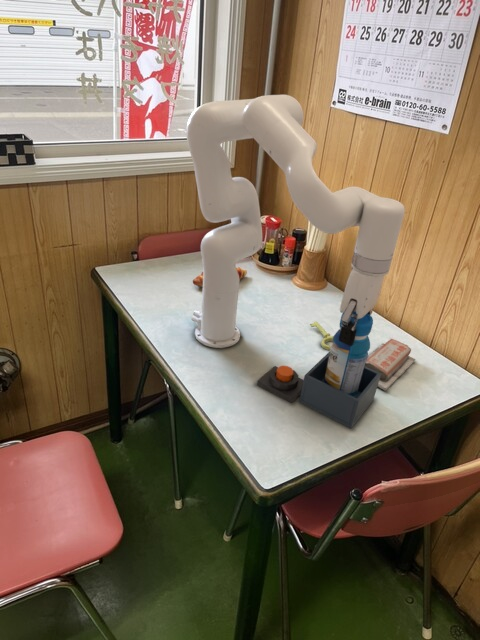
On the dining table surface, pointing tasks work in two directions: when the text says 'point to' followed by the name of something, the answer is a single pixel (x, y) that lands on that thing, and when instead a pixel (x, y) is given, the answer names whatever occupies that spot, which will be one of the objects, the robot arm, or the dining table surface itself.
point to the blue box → (338, 394)
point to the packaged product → (389, 361)
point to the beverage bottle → (349, 358)
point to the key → (326, 335)
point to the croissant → (199, 279)
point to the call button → (284, 373)
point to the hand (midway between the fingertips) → (353, 335)
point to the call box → (281, 385)
